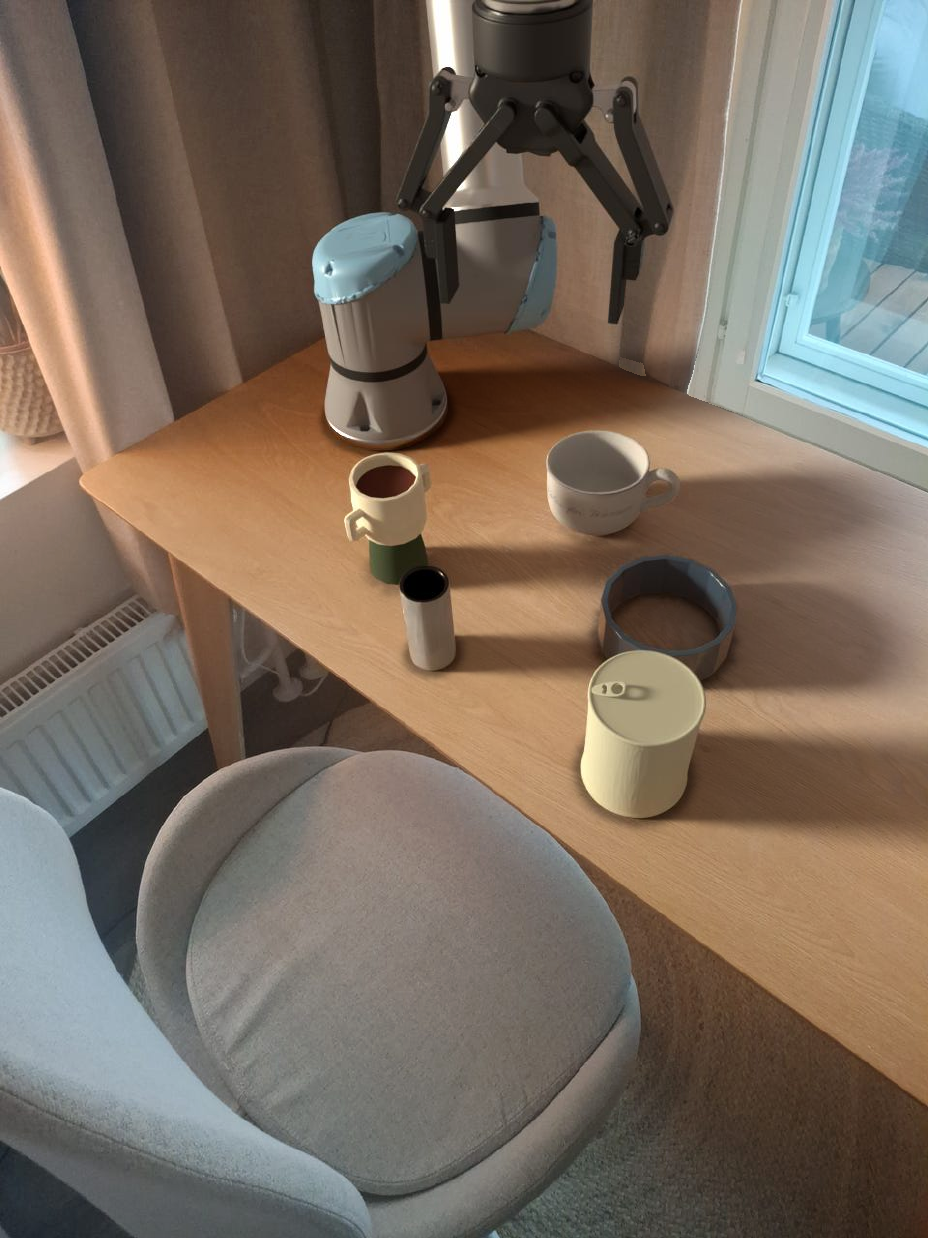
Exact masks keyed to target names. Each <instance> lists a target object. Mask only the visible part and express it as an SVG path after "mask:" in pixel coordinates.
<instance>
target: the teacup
mask: <svg viewBox="0 0 928 1238" xmlns="http://www.w3.org/2000/svg"><path fill="white" fill-rule="evenodd" d="M545 466H546V472H547V473H546V490H547V491H546V492H547V503H548V506H549V508H550V511H551V513H552V515H553V516H554V518H555V519H556V520H557V521H558V523H560V524H561V525H563V526H564V527H566V528H567V529H569V530H571V531H573V532H575V533H579V534H581V535H584V536H592V537H600V536H607V535H610V534H614V533H617V532H620V531H622V530H624V529H626V528H627V527H629V526H630V525H631V524H633V522H634V521H635V520H636V519H637V518H638V517H639V514H643V513H647V512H648V511H649V510H651V509H654V508H658V507H662V506H664V505H666V504H668V503H671V502H673V500H675V499H676V497H678V495H679V493H680V489H681V482H680V478H679V476H678V475H677V473H676V472H674V471H673V470H670V469H669V468H663V467H662V468H655V469H651V470H650V468H651V460H650V455H649V453H648V451H647V450H646V448H645V447H644V446H643V445H642V444H641V443H640V442H638V441H637V440H635V439H634V438H631V437H630V436H628V435H625V434H623V433H619V432H615V431H611V430H604V429H603V430H602V429H601V430H600V429H598V430H592V429H591V430H585V431H579V432H575V433H571V434H570V435H566V436H565V437H563V438H562V439H559V441H558V442H556V443H555V444H554V445H553V446H552V447H551V448H550V450H549V451H548V452H547V456H546V462H545ZM657 481H662V482H665V483H667V484H668V485H669V487H670V488H669V489H668V490H667V491H665V492H664V493H661V494H657V495H654V496H649V497H648V496H646V492H647V490H649V489H650V488H651V487H652V484H653V483H655V482H657Z"/></svg>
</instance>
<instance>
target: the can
mask: <svg viewBox="0 0 928 1238" xmlns="http://www.w3.org/2000/svg"><path fill="white" fill-rule="evenodd" d="M590 678H591V679H590V680H589V684H588V688H587V714H586V715H587V716H586V727H585V739H584V748H583V753H582V756H581V760H580V774H581V775H580V777H581V780H582V782H583V785H584V788H585V789H586V791H587V792H588V794H589V795H590V796H591V798H592V799H593V800H594V801H595V802H597V804H598V805H600V806H601V807H602V808H604V809H605V810H607V811H609V812H611V813H613V814H615V815H618V816H621V817H626V818H633V819H644V818H651V817H656V816H659V815H661V814H663V813H665V812H667V811H668V810H669V809H671V808H672V807H674V806H675V805H676V804H677V803H678V802H679V800H680V799H681V798H682V796H683V794H684V793H685V790H686V787H687V783H688V772H689V767H690V764H691V760H692V756H693V752H694V749H695V744H696V741H697V738H698V734H699V731H700V728H701V724H702V722H703V720H704V717H705V713H706V709H707V698H706V697H707V696H706V692H705V688H704V686H703V684H702V681H700V680H699V679H698V677H697V676H696V675H695V673H694V672H693V671H692V670H691V669H690V668H689V667H688V666H686V665H685V664H684V663H682V662H681V661H679V660H677V659H676V658H673V657H671V656H669V655H666V654H663V653H660V652H655V651H646V650H637V651H629V652H625V653H621V654H618V655H616V656H614V657H612V658H610V659H608V658H607V660H605V661H604V662H602V664H600V665H599V667H597V669H596V670H595V671H594V672H593V675H592V676H591V677H590Z"/></svg>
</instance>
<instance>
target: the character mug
mask: <svg viewBox="0 0 928 1238" xmlns="http://www.w3.org/2000/svg"><path fill="white" fill-rule="evenodd" d="M348 484H349V490H350V503H351V506H352V510H351V511H350V512H349V513H347V515H345V517H344V526H345V531H346V535H347V538H348V540H349V541H350V542H357V541H359V540H360V539H361V538H362V537H364V536H365V538H367V539H368V553H369V554H368V555H369V570H370V574H371V575H372V576H373V577H374V578H375V579H376V580H377V581H380V582H382V583H384V584H387V585H392V586H399V582H400V579H401V577H402V576H403V575H404V574H405V573H406V572H407V571H408V570H410V569H412V568H414V567H417V566H422V565H429V558H428V557H429V556H428V551H427V548H426V544H425V540H424V539H423V536H422V532H423V531H424V529H425V526H426V522H427V517H428V513H427V506H426V505H427V504H426V497H425V493H427V492H428V491H429V490H431V488H432V478H431V470H430V467H429V464H428V463H420V464H419V463H417V462H416V460H414V458H412V457H410V456H408V455H405V454H402V453H399V452H397V453H396V452H387V451H386V452H382V453H374V454H371V455H369V456H366V457H363V458H362V459H361V460H359V461H358V462H356V464H355V465H354V466H353V467H352V468H351V471H350V474H349V476H348ZM356 526H357V527H356Z"/></svg>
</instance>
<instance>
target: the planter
mask: <svg viewBox="0 0 928 1238" xmlns="http://www.w3.org/2000/svg"><path fill="white" fill-rule="evenodd" d="M450 584H451V583H450V578H449V576H448V574H447V573H446V572H445V571H444V570H443V569H441V568H440V567H437V566H434V565H430V564H428V565H422V566H417V567H414V568H412V569H410V570H408V571H407V572H406V573H405V574H404V575H403V576H402V577H401V579H400V582H399V585H398V588H399V589H398V590H399V595H400V602H401V608H402V612H403V613H402V614H403V619H404V626H405V633H406V638H407V644H408V651H409V656H410V659H411V661H412V663H413V664H414V665H415V666H416V667H418V668H420V669H421V670H424V671H440V670H442V669H444V668H447V667H448V666H449V665H450V664H452V662H453V661H454V659H455V657H456V653H457V646H456V635H455V626H454V615H453V604H452V594H451V585H450Z"/></svg>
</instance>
